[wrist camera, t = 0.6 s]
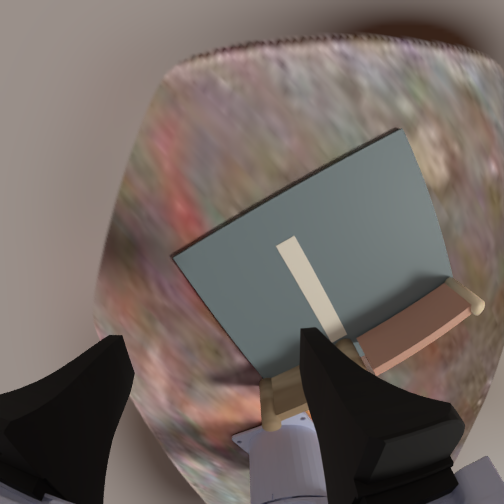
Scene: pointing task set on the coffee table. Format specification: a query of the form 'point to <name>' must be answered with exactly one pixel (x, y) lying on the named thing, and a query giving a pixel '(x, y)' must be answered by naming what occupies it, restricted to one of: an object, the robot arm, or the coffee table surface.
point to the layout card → (323, 256)
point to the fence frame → (291, 391)
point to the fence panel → (418, 325)
